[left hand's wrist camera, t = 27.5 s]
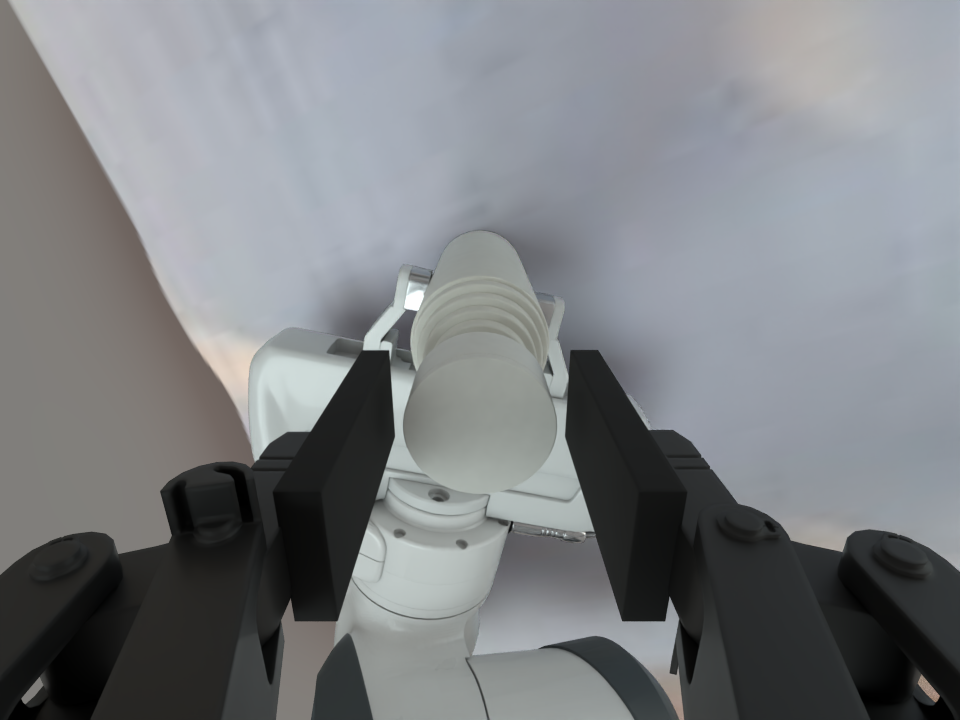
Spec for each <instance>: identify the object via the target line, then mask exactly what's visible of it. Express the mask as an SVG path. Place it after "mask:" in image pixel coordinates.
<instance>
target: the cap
mask: <svg viewBox="0 0 960 720" xmlns="http://www.w3.org/2000/svg"><path fill="white" fill-rule="evenodd" d="M403 434H404V439H405V443H406V446H407V449H408V451H409V453H410V455H411V457H412V458H413V460H414V461H415V463H416V464H417V465H418V467H419V468H420V469H421V470H422V471H423V472H424V473H425V474H426V475H428V476H429V477H430V478H431V479H433V480H434V481H436V482H437V483H439V484H441V485H443V486H445V487H447V488H450V489H453V490H456V491H460V492H464V493H471V494H488V493H496V492H500V491H504V490H507V489H510V488H513V487H515V486H517V485H519V484H521V483H523V482H524V481H526V480H527V479H529V478H530V477H531V476H533V475H534V474H535V473H536V472H537V471H538V470H539V469H540V468H541V467H542V465H543V464H544V463H545V461H546V460H547V458H548V457H549V455H550V453H551V451H552V448H553V446H554V443H555V439H556V434H557V416H556V412H555V407H554V404H553V401H552V398H551V394H550V391H549V388H548V385H547V381H546V378H545V375H544V373H543V370H542V368H541V366H540V364H539V363H538V361H537V360H536V358H535V357H534V356H533V355H532V354H531V353H530V352H529V351H528V350H527V349H526V348H525V347H524V346H522V345H521V344H520V343H518V342H516V341H515V340H513V339H511V338H508V337H506V336H503V335H500V334H496V333H490V332H470V333H464V334H460V335H457V336H454V337H452V338H449V339H447V340H445V341H444V342H442V343H440V344H439V345H438V346H436V347H435V348H434V349H433V350H432V351H431V352H429V353H428V355H427V356H426V357H425V358H424V360H423V361H422V363H421V364H420V366H419V368H418V370H417V373H416V375H415V378H414V381H413V385H412V388H411V391H410V395H409V398H408V401H407V404H406V408H405V412H404V418H403Z"/></svg>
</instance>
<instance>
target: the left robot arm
mask: <svg viewBox="0 0 960 720" xmlns="http://www.w3.org/2000/svg"><path fill="white" fill-rule="evenodd" d="M394 439H395V426H394V411H393V397H392V382H391V367H390V352H389V350H362V351H361V353H360V354H359V356H358V357H357V359H356V361H355V362H354V364H353V365H352V367H351V368H350V370H349V372H348V373H347V375H346V376H345V378H344V379H343V381H342V383H341V384H340V386H339V387H338V389H337V391H336V392H335V394H334V395H333V397H332V398H331V400H330V402H329V403H328V405H327V406H326V408H325V409H324V411H323V413H322V414H321V416H320V417H319V419H318V421H317V422H316V424H315V425H314V427H313V428H312V430H311V432H286V433H285V434H283V435H282V436H280V437H278V438H277V439H275V440H274V441H272V442H271V443H269V445H268V446H267V447H266V449H265V450H264V451H263V453H262V454H261V455H260V457H259V460H257V461H256V462H255V463H254V465H253V466H252V467H251V468H250V467H248V466H247V465H246V464H242V463H237V462H215V463H211V464H206V465H202V466H198V467H196V468H193V469H190V470H188V471H185V472H183V473H181V474H180V475H178V476H177V477H175V478H173V479H172V480H170V481H169V482H168V483H167V484H166V485H165V486H164V487H163V489H162V490H161V491H160V492H161V496H162V500H163V504H164V507H165V511H166V515H167V519H168V522H169V526H170V530H171V534H172V537H171V539H170V541H169V543H167V544H163V545H159V546H155V547H151V548H146V549H141V550H136V551H132V552H127V553H122V554H118V553H117V550H116V546H115V543H114V540H113V539H112V538H110V537H109V536H108V535H107V534H104V533H97V532H86V533H78V534H72V535H67V536H64V537H62V538H61V537H60V538H57V539H54V540H52V541H50V542H48V543H46V544H44V545H42V546H40V547H38V548H36V549H34V550H32V551H30V552H29V553H28V554H26V555H25V556H23V557H22V558H21V559H19V560H18V561H16V562H15V563H14V564H12V565H11V566H10V567H9V568H8V569H7V570H6V571H4V572H3V573H2V574H1V575H0V720H276V713H277V704H278V695H279V686H280V677H281V667H282V658H283V649H284V635H283V629H282V623H281V619H282V617H283V614H284V612H285V610H286V607H287V605H288V603H289V601H290V598H291V602H292V608H293V613H294V619H295V621H338V619H339V615H340V612H341V609H342V606H343V603H344V599H345V596H346V593H347V590H348V586H349V583H350V580H351V577H352V574H353V570H354V567H355V564H356V561H357V558H358V554H359V551H360V548H361V545H362V541H363V538H364V535H365V532H366V529H367V525H368V522H369V519H370V516H371V513H372V509H373V506H374V503H375V500H376V497H377V493H378V490H379V487H380V484H381V480H382V477H383V474H384V471H385V468H386V464H387V461H388V458H389V455H390V452H391V448H392V445H393V442H394ZM565 439H566V442H567V445H568V448H569V452H570V455H571V458H572V461H573V464H574V468H575V471H576V474H577V477H578V480H579V484H580V487H581V490H582V493H583V497H584V500H585V503H586V506H587V509H588V513H589V516H590V519H591V522H592V525H593V529H594V532H595V535H596V538H597V541H598V545H599V548H600V551H601V554H602V558H603V561H604V564H605V567H606V570H607V574H608V577H609V580H610V583H611V586H612V590H613V593H614V596H615V599H616V603H617V606H618V609H619V612H620V615H621V619H622V621H665V619H666V613H667V608H668V602H669V596H670V598H671V600H672V603H673V605H674V607H675V610H676V612H677V614H678V616H679V623H678V629H677V634H676V639H675V645H674V650H673V655H672V661H671V667H670V673H671V674H675V675H677V669H678V666H679V675H680V684H681V694H682V703H683V712H684V720H960V572H959V571H958V570H957V569H956V568H955V567H954V566H952V565H951V564H950V563H949V562H948V561H947V560H945V559H944V558H942V557H941V556H940V555H938V554H937V553H935V552H934V551H932V550H931V549H930V548H928V547H926V546H924V545H922V544H920V543H917V542H915V541H913V540H912V539H910V538H907V537H905V536H902V535H897V534H895V533H891V532H885V531H877V530H862V531H855V532H854V533H852V534H851V535H850V536H849V537H847V540H846V543H845V546H844V550H843V552H840V551H835V550H830V549H825V548H820V547H815V546H811V545H806V544H802V543H798V542H794V541H791V540H790V538H789V536H788V534H787V533H786V531H785V530H784V529H783V527H782V526H781V525H780V524H779V523H778V522H776V521H775V520H774V519H772V518H771V517H770V516H768V515H767V514H765V513H762V512H760V511H758V510H756V509H754V508H751V507H748V506H744V505H740V504H738V503H737V502H736V500H735V499H734V498H733V497H732V495H731V494H730V493H729V491H728V490H727V489H726V487H725V486H724V485H723V483H722V482H721V481H720V479H719V478H718V477H717V475H716V474H715V473H714V472H713V470H712V469H710V466H709V465H708V464H707V462H706V461H705V460H704V458H701V454H700V453H699V452H698V450H697V449H696V448H695V446H694V445H693V444H692V443H691V441H689V440H687V439H686V438H684V437H683V436H681V435H680V434H678V433H677V432H675V431H674V430H648V428H647V427H646V425H645V424H644V422H643V421H642V419H641V417H640V416H639V414H638V413H637V411H636V409H635V408H634V406H633V405H632V403H631V402H630V400H629V398H628V397H627V395H626V394H625V392H624V391H623V389H622V387H621V386H620V384H619V383H618V381H617V379H616V378H615V376H614V375H613V373H612V372H611V370H610V368H609V367H608V365H607V364H606V362H605V361H604V359H603V357H602V356H601V354H600V353H599V351H598V350H571V352H570V367H569V382H568V397H567V411H566V426H565ZM921 674H922V675H923V676H924V678H925V679H926V680H927V681H928V682H929V683H930V685H931V686H932V687H933V688H934V689H935V691H936V692H937V693H938V694H939V695H940V697H939V699H938V701H937V702H934V701H933V700H932V699H931V698H930V697H929V696H928V695H926V693H925V692H924V691H923V690H922V689H921V687H920V686H919V685H918V684H917V683H918V681H919V678H920V676H921ZM39 677H40V678H41V681H42V683H43V685H44V686H43V687H42V688H41V689H40V690H39V692H38V693H37V694H36V695H35V696H34V697H33V698H32V699H31V700H30V701H29V702H28V703H27V704H24V703H23V702H22V700H21V698H22V697H23V696H24V694H25V693H26V692H27V691H28V690H29V688H30V687H31V686H32V685H33V684H34V683H35V681H36V680H37V679H38V678H39Z"/></svg>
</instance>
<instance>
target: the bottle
mask: <svg viewBox="0 0 960 720" xmlns="http://www.w3.org/2000/svg"><path fill="white" fill-rule="evenodd" d="M470 332H490V333H496V334H500V335H503V336H506V337H508V338H511V339H513V340H515V341H516V342H518V343H520V344H521V345H522V346H524V347H525V348H526V349H527V350H528V351H529V352H530V353H531V354H532V355H533V356H534V357H535V358H536V360H537V361H538V363H539V364H540V366H541V368H542V370H543V371H544V368H545V365H546V361H547V356H548V352H549V331H548V326H547V322H546V320H545V317H544V314H543V312H542V310H541V307H540V305H539V303H538V300H537V298H536V296H535V293H534V291H533V288H532V286H531V284H530V281H529V279H528V277H527V274H526V272H525V270H524V267H523V265H522V263H521V260H520V258H519V256H518V254H517V252H516V250H515V249H514V247H513V246H512V245H511V244H510V243H509V242H508V241H507V240H506V239H505V238H503V237H501V236H500V235H498V234H495V233H492V232H489V231H471V232H467V233H464V234H462V235H460V236H458V237H456V238H455V239H454V240H452V241H451V242H450V243H449V244H448V245H447V247H446V248H445V249H444V251H443V253H442V255H441V257H440V259H439V262H438V264H437V266H436V269H435V271H434V274H433V276H432V278H431V281H430V283H429V285H428V288H427V290H426V293H425V295H424V297H423V300H422V302H421V304H420V307H419V309H418V312H417V314H416V316H415V319H414V321H413V325H412V329H411V337H410V345H411V353H412V357H413V362H414V366H415V369H416V371H417V370H418V368H419V366H420V364H421V363H422V361H423V360H424V358H425V357H426V356H427V355H428V353H429V352H431V351H432V350H433V349H434V348H435V347H436V346H438V345H439V344H440V343H442V342H444V341H445V340H447V339H449V338H452V337H454V336H457V335H460V334H464V333H470Z"/></svg>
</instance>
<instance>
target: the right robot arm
mask: <svg viewBox="0 0 960 720" xmlns="http://www.w3.org/2000/svg"><path fill="white" fill-rule="evenodd" d="M432 274H433V270H429V269H425V268H420V267H416V266H412V265H407V264H403V265H402V266H401V268H400V271H399V275H398V279H397V286H396V292H395V298H394V300H393V301H392V303H391V304H390V305H389V306H388V307H387V308H386V310H385V311H384V312H383V313H382V314H381V315H380V317H379V318H378V319H377V320H376V321H375V322H374V324H373V325H372V326H371V328H370V329H369V331H368V332H367V334H366V335H365V338H364V341H361V340H356V339H351V338H346V337H341V336H336V335H331V334H326V333H321V332H316V331H311V330H306V329H301V328H296V327H289V328H286V329H284V330H283V331H281V332H280V333H278V334H277V335H275V336H274V337H273V338H271V339H270V340H269V341H267V342H266V343H265V344H264V345H263V346H262V347H261V348H260V349H259V350H258V351H257V352H256V354H255V355H254V357H253V359H252V361H251V365H250V371H249V385H248V410H249V428H250V439H251V447H252V453H253V457H254V461H255V462H256V461H257V460H259V457H260V455H261V454H262V453H263V451H264V450H265V449H266V447H267V446H268V445H269V443H271V442H272V441H274V440H275V439H277V438H278V437H280V436H282V435H283V434H285V433H286V432H311V430H312V428H313V427H314V425H315V424H316V422H317V421H318V419H319V417H320V416H321V414H322V413H323V411H324V409H325V408H326V406H327V405H328V403H329V402H330V400H331V398H332V397H333V395H334V394H335V392H336V391H337V389H338V387H339V386H340V384H341V383H342V381H343V379H344V378H345V376H346V375H347V373H348V372H349V370H350V368H351V367H352V365H353V364H354V362H355V361H356V359H357V357H358V356H359V354H360V353H361V351H362V350H389V352H390V367H391V382H392V397H393V411H394V426H395V439H394V442H393V445H392V448H391V452H390V455H389V458H388V461H387V464H386V468H385V471H384V474H383V477H382V480H381V484H380V487H379V490H378V493H377V497H376V500H375V503H374V506H373V509H372V513H371V516H370V519H369V522H368V525H367V529H366V532H365V535H364V538H363V541H362V545H361V548H360V551H359V554H358V558H357V561H356V564H355V567H354V570H353V574H352V577H351V580H350V583H349V586H348V590H347V593H346V596H345V599H344V603H343V606H342V609H341V612H340V615H339V619H338V621H336V628H335V638H334V648H333V650H332V651H331V653H330V655H329V656H328V658H327V660H326V661H325V663H324V664H323V666H322V668H321V670H320V671H319V673H318V675H317V681H316V690H315V698H314V704H313V711H312V717H311V720H679V718H678V716H677V713H676V711H675V709H674V707H673V705H672V703H671V701H670V699H669V697H668V696H667V694H666V693H665V691H664V689H663V688H662V687H661V685H660V684H659V683H658V681H657V680H656V679H655V678H654V676H653V675H652V674H651V673H650V672H649V671H648V670H647V669H646V668H645V667H644V666H643V665H642V664H641V663H640V662H639V661H638V660H637V659H636V658H635V657H633V656H632V655H631V654H630V653H628V652H627V651H626V650H625V649H623V648H622V647H621V646H620V645H618V644H617V643H615V642H613V641H611V640H609V639H607V638H604V637H599V636H591V637H586V638H581V639H576V640H572V641H567V642H562V643H557V644H552V645H547V646H543V647H541V648H539V649H534V650H524V651H514V652H503V653H493V654H483V655H472V654H473V651H474V648H475V645H476V642H477V638H478V633H479V627H480V612H479V608H480V607H481V606H482V605H483V603H484V602H485V600H486V598H487V597H488V595H489V593H490V591H491V588H492V586H493V582H494V579H495V575H496V572H497V568H498V565H499V561H500V558H501V554H502V551H503V548H504V544H505V541H506V537H507V534H508V533H509V532H510V533H516V534H522V535H528V536H534V537H549V538H555V539H560V540H561V541H564V542H568V543H583V542H584V541H585V539H586V538H594V537H596V535H595V532H594V529H593V525H592V522H591V519H590V516H589V513H588V509H587V506H586V503H585V500H584V497H583V493H582V490H581V487H580V484H579V480H578V477H577V474H576V471H575V468H574V464H573V461H572V458H571V455H570V452H569V448H568V445H567V442H566V439H565V426H566V411H567V397H568V380H569V375H568V372H567V368H566V365H565V361H564V357H563V354H562V350H561V347H560V343H559V340H558V338H557V336H558V333H559V329H560V325H561V322H562V318H563V315H564V311H565V302H564V300H563V299H562V297H558V296H553V295H548V294H543V293H538V292H534V293H535V296H536V298H537V300H538V303H539V305H540V307H541V310H542V312H543V314H544V317H545V320H546V322H547V326H548V331H549V352H548V362H547V361H546V365H545V368H544V371H543V373H544V375H545V378H546V381H547V385H548V388H549V391H550V394H551V398H552V401H553V404H554V407H555V412H556V416H557V434H556V439H555V443H554V446H553V448H552V451H551V453H550V455H549V457H548V458H547V460H546V461H545V463H544V464H543V465H542V467H541V468H540V469H539V470H538V471H537V472H536V473H535V474H534V475H533V476H531V477H530V478H529V479H527V480H526V481H524V482H523V483H521V484H519V485H517V486H515V487H513V488H510V489H507V490H504V491H500V492H496V493H488V494H471V493H464V492H460V491H456V490H453V489H450V488H447V487H445V486H443V485H441V484H439V483H437V482H436V481H434V480H433V479H431V478H430V477H429V476H428V475H426V474H425V473H424V472H423V471H422V470H421V469H420V468H419V467H418V465H417V464H416V463H415V461H414V460H413V458H412V457H411V455H410V453H409V451H408V449H407V446H406V443H405V439H404V434H403V418H404V412H405V408H406V404H407V401H408V398H409V395H410V391H411V388H412V385H413V381H414V378H415V375H416V373H417V371H416V369H415V366H414V362H413V357H412V353H411V350H406V349H401V348H397V342H398V336H399V331H398V329H394V328H391V327H392V326H393V325H394V324H395V323H396V322H397V320H398V319H399V318H400V317H401V316H402V315H403V313H404V312H405V311H406V310H407V309H408V310H414V311H418V309H419V307H420V304H421V302H422V300H423V297H424V295H425V293H426V290H427V288H428V285H429V283H430V281H431V278H432ZM625 394H626V393H625ZM626 395H627V397H628V398H629V400H630V402H631V403H632V405H633V406H634V408H635V409H636V411H637V413H638V414H639V416H640V417H641V419H642V421H643V422H644V424H645V425H646V427H647V428H648V430H652V429H651V427H650V424H649V422H648V420H647V418H646V416H645V414H644V413H643V411H642V409H641V408H640V407H639V405H638V404H637V403H636V401H635V400H634V399H633V398H632V397H631V396H630V395H628V394H626Z"/></svg>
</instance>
